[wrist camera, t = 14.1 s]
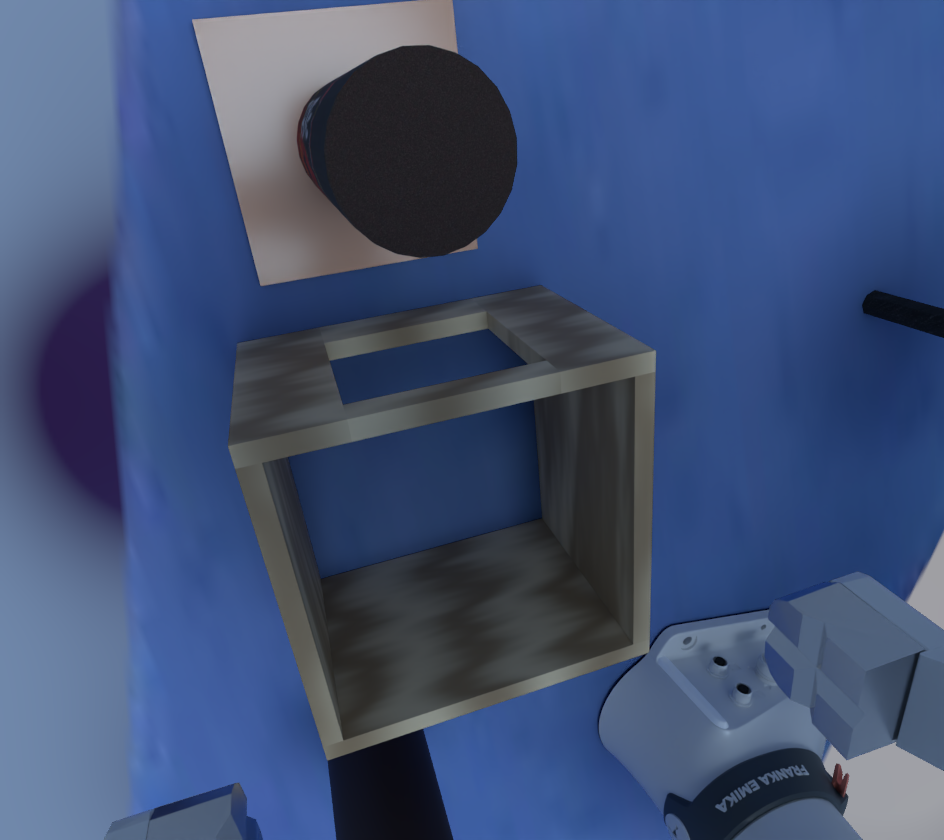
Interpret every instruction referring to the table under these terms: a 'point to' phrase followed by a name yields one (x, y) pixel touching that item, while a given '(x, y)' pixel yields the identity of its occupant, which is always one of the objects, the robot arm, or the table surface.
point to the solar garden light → (905, 312)
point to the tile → (277, 115)
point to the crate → (471, 560)
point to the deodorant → (412, 149)
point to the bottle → (388, 792)
